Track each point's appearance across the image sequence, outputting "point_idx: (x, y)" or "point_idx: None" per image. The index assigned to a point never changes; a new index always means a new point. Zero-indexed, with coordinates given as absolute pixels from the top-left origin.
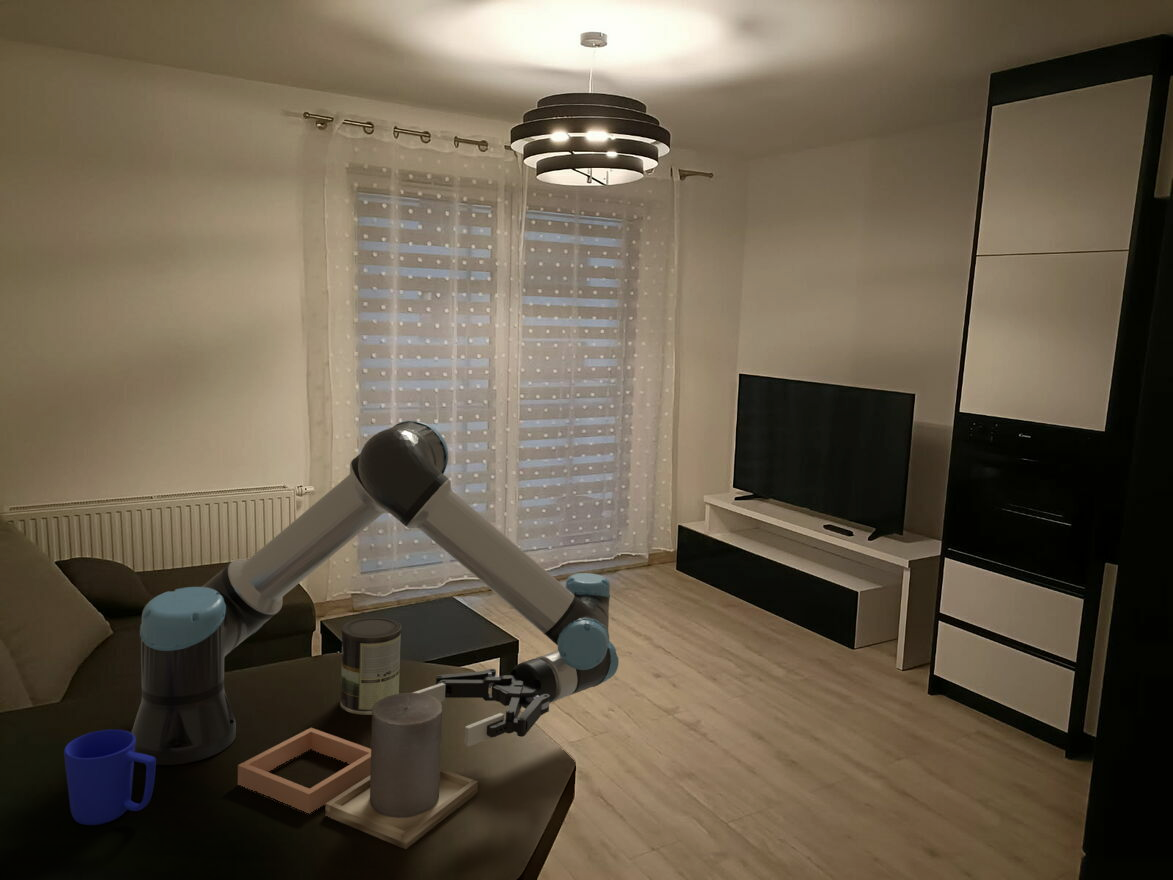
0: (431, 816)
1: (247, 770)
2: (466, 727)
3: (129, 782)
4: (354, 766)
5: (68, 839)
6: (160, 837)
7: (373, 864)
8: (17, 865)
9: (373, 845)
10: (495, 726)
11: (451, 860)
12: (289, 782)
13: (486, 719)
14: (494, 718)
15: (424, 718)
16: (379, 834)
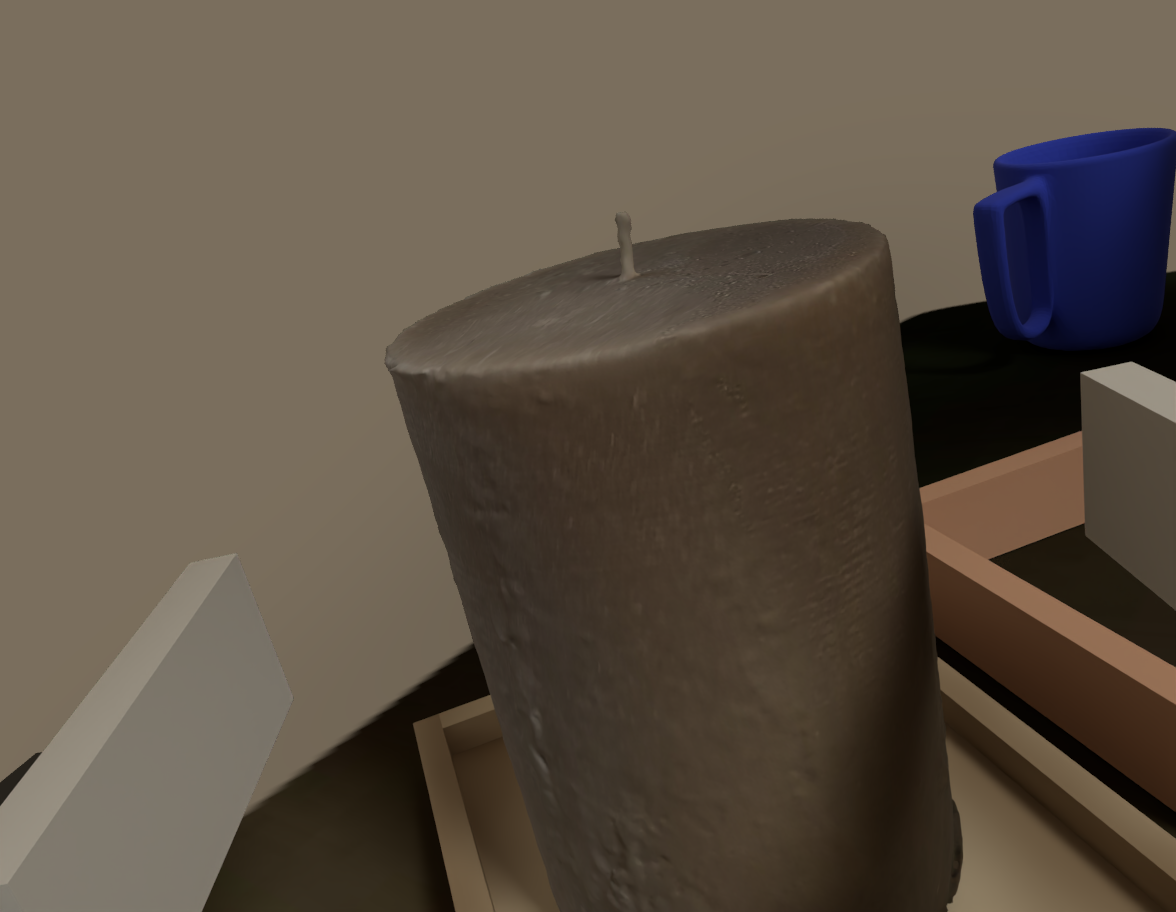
0: (443, 839)
1: None
2: (219, 560)
3: (1047, 267)
4: (1050, 625)
5: (989, 329)
6: (922, 398)
7: (451, 682)
8: (923, 314)
9: None
10: (4, 794)
11: (219, 883)
12: (985, 476)
13: (115, 696)
14: (32, 768)
15: (421, 332)
16: None
